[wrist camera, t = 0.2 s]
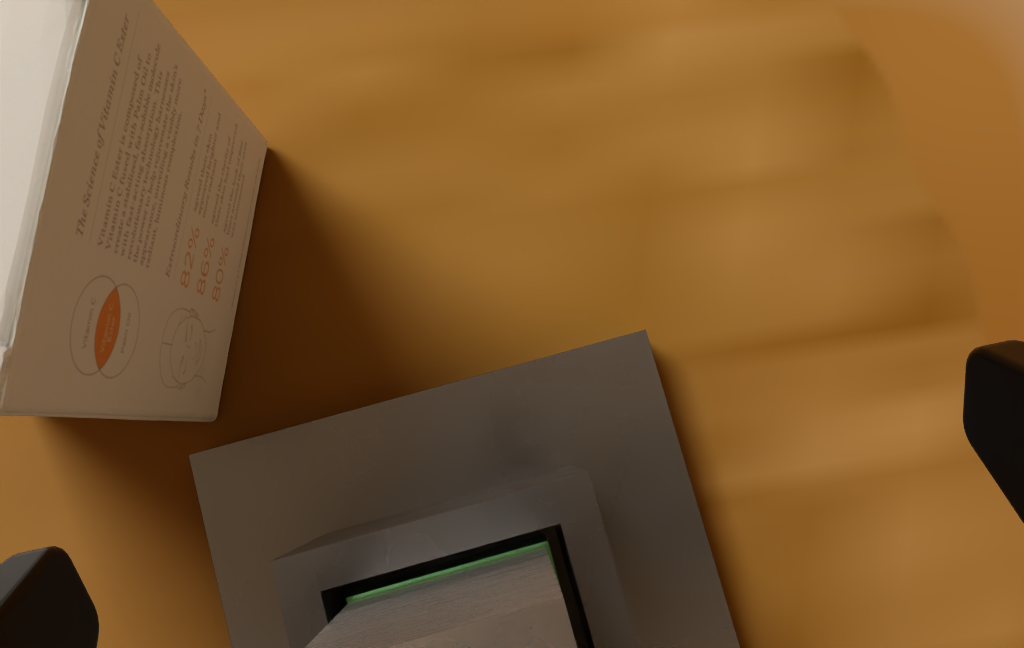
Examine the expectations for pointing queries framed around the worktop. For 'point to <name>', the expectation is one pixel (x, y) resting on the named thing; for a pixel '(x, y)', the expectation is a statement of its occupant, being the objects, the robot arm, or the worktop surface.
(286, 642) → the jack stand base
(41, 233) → the small box
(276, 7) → the worktop surface
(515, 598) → the white tall block
